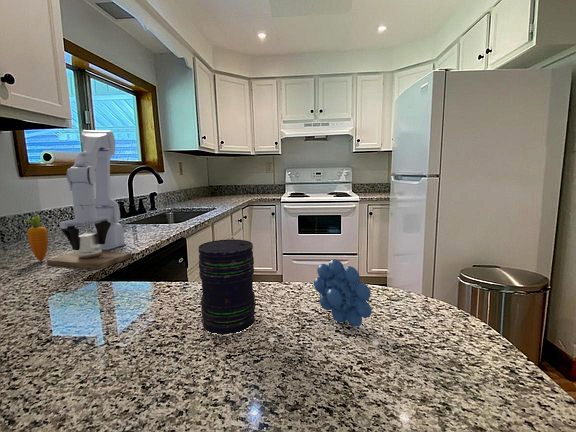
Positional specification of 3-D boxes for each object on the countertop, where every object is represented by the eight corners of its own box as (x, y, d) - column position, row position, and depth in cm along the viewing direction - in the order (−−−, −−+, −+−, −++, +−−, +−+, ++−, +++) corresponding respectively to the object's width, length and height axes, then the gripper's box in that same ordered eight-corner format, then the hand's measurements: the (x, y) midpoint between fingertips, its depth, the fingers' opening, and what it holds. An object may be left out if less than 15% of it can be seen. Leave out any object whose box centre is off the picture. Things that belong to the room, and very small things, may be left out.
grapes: (301, 323, 56) (301, 260, 54) (320, 309, 61) (321, 252, 59) (360, 344, 49) (362, 273, 47) (376, 326, 54) (378, 263, 52)
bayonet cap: (74, 259, 93) (71, 236, 92) (84, 253, 100) (82, 232, 99) (96, 257, 94) (94, 235, 93) (105, 252, 101) (103, 231, 100)
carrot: (42, 263, 95) (36, 216, 93) (27, 263, 95) (20, 217, 93) (54, 258, 100) (49, 214, 98) (40, 259, 100) (34, 214, 98)
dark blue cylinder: (201, 340, 50) (196, 254, 48) (202, 314, 60) (197, 241, 58) (259, 331, 53) (257, 249, 51) (251, 307, 62) (249, 237, 60)
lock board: (85, 253, 106) (84, 249, 106) (131, 257, 101) (131, 252, 101) (47, 264, 94) (46, 259, 93) (98, 269, 88) (97, 263, 88)
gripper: (67, 208, 86) (72, 253, 88) (114, 203, 99) (118, 243, 101) (53, 207, 89) (58, 251, 91) (101, 202, 102) (105, 241, 104)
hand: (89, 246), depth 97 cm, fingers open, 7 cm apart
